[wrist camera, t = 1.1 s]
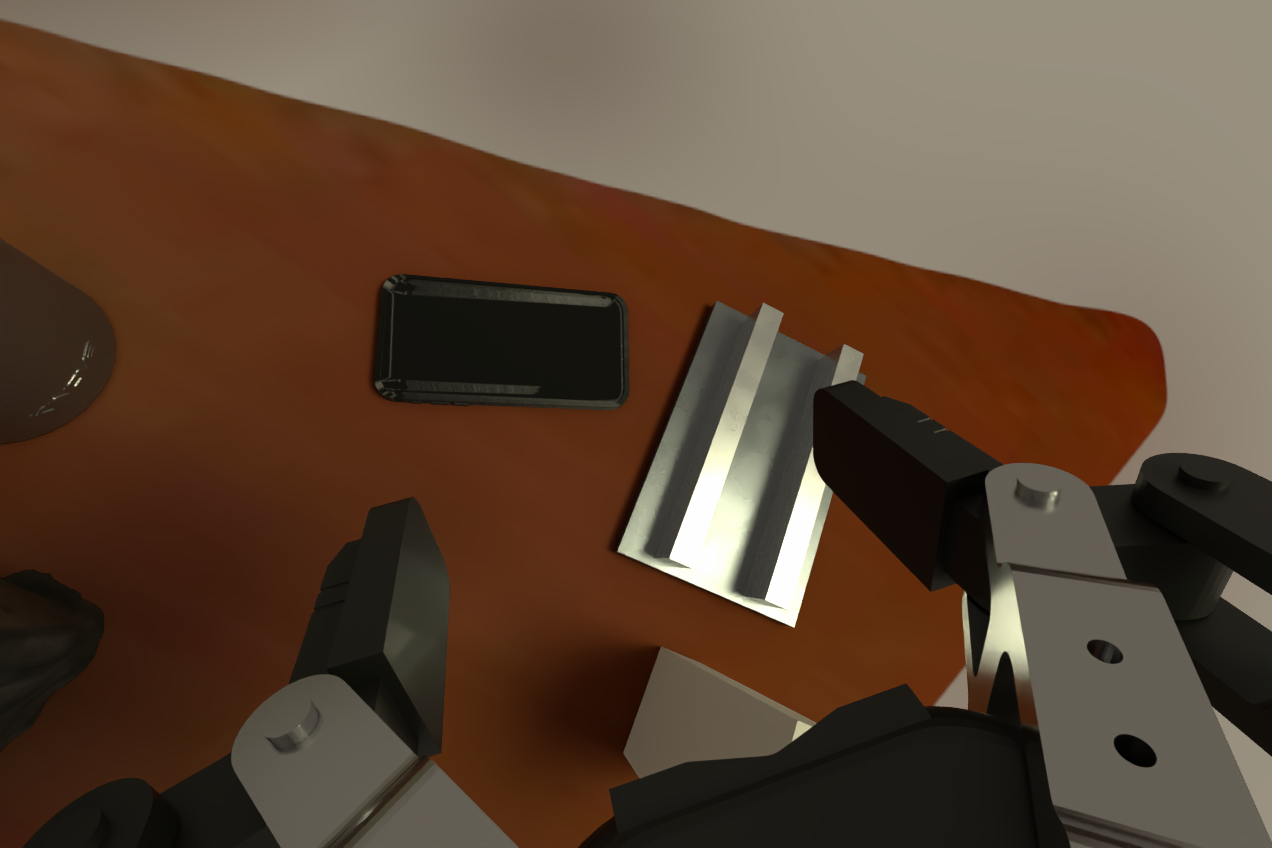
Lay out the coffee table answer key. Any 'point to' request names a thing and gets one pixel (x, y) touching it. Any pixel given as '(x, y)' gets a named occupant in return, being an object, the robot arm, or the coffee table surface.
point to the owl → (40, 645)
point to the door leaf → (704, 718)
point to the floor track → (740, 466)
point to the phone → (501, 344)
